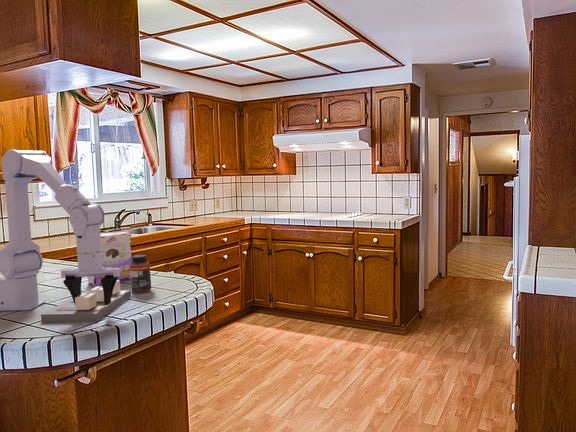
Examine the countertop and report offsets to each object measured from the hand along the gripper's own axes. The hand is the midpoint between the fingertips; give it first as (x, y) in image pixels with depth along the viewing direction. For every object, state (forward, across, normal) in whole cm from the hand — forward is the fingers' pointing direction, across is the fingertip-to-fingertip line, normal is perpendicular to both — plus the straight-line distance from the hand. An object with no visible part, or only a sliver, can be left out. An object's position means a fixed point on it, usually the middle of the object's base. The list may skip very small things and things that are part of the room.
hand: (92, 304), depth 118 cm
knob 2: (+1, -2, +15) cm, 15 cm away
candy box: (+3, -12, +40) cm, 42 cm away
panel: (+3, -4, +8) cm, 9 cm away
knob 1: (+1, -1, +7) cm, 8 cm away
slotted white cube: (+1, -2, 0) cm, 2 cm away
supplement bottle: (+3, +4, +25) cm, 25 cm away
